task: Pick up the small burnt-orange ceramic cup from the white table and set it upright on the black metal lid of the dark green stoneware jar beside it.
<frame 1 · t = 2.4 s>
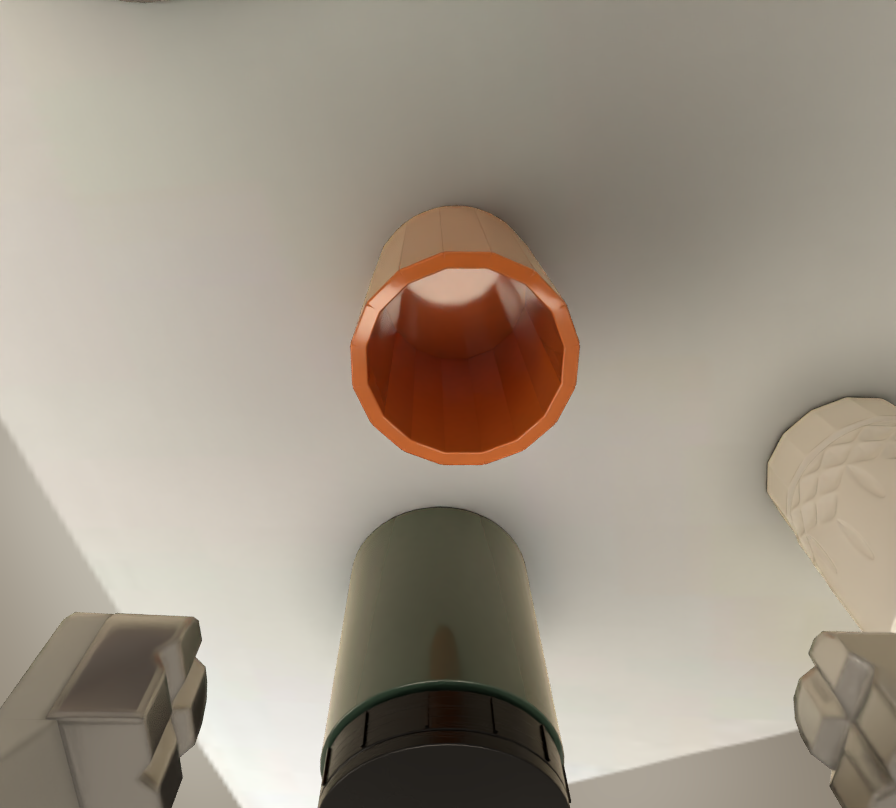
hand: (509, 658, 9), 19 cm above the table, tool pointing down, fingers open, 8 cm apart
white cup: (837, 461, 30), on the table
jar: (439, 580, 32), on the table
cup: (454, 288, 26), on the table
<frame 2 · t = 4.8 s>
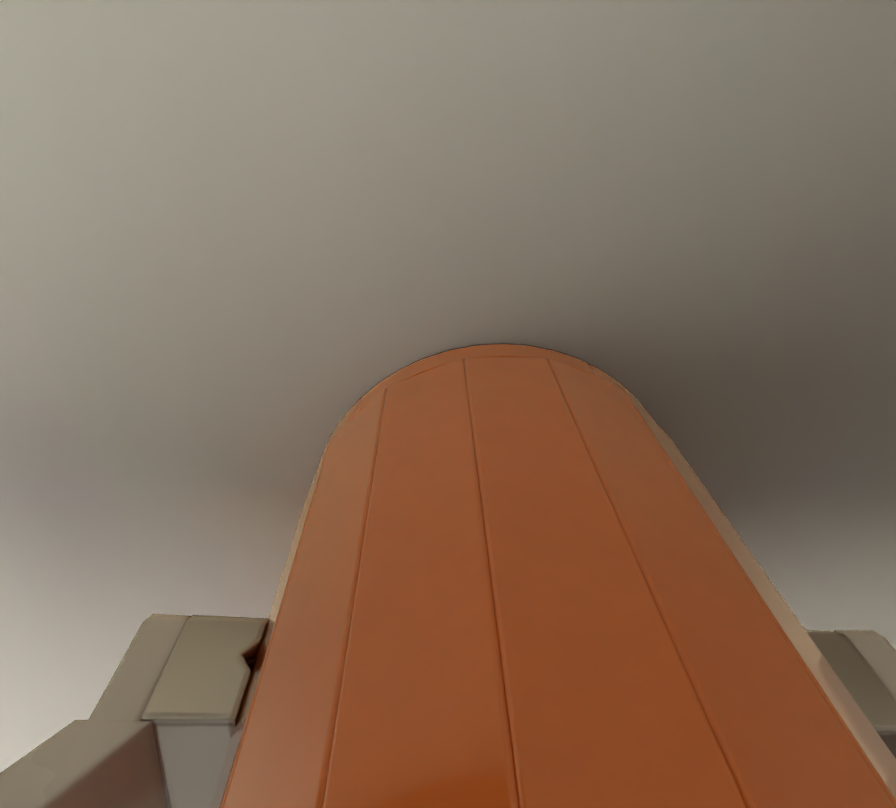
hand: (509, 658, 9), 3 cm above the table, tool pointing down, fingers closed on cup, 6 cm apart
cup: (493, 512, 12), on the table, touching gripper
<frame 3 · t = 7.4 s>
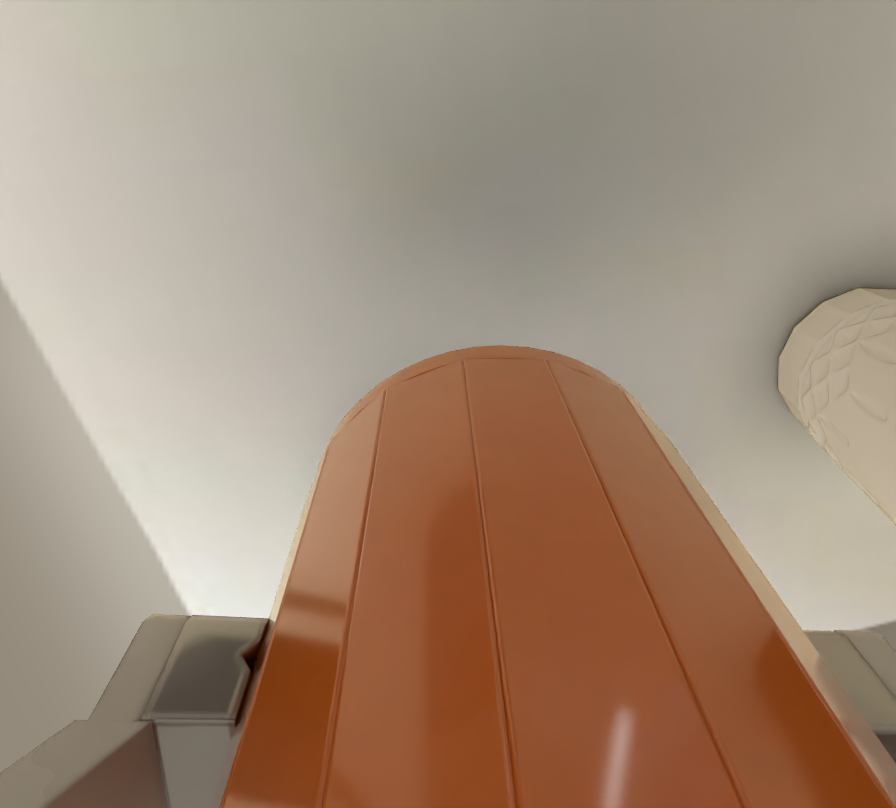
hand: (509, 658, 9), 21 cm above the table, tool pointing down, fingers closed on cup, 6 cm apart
white cup: (848, 357, 30), on the table
cup: (493, 513, 12), point 18 cm above the table, touching gripper
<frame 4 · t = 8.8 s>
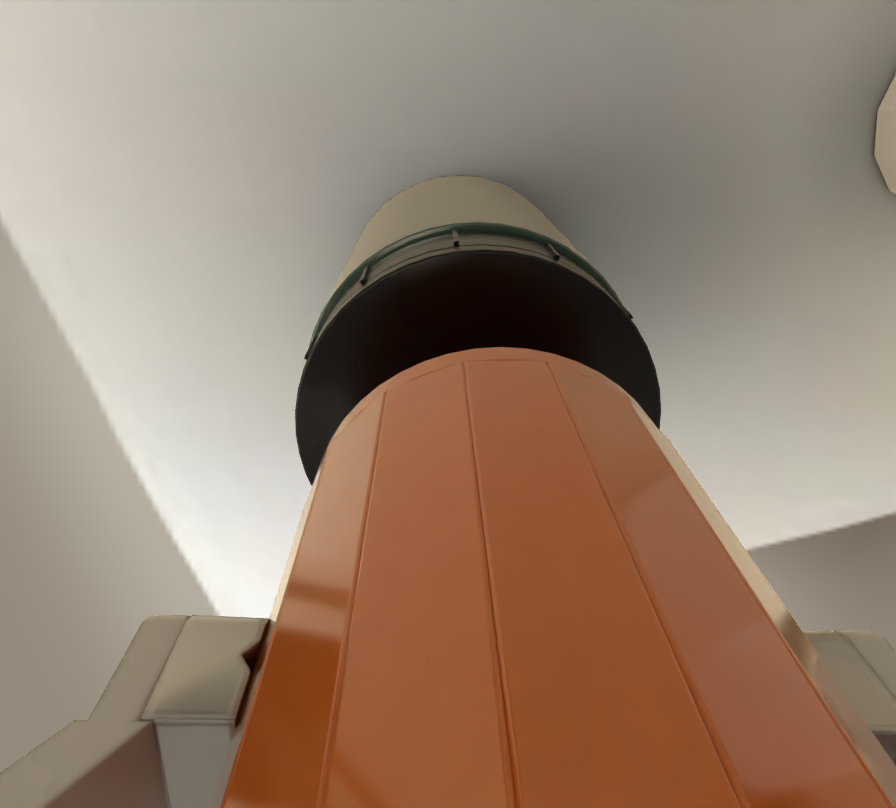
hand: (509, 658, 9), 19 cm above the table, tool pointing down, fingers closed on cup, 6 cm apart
jar lid: (477, 423, 15), point 12 cm above the table, screwed on, not yet turned
jar: (458, 289, 26), on the table
cup: (493, 515, 12), point 16 cm above the table, touching gripper
when the fingers open (15 cm above the table, at t = 10.2 s): cup stays where it is, resting on jar lid.
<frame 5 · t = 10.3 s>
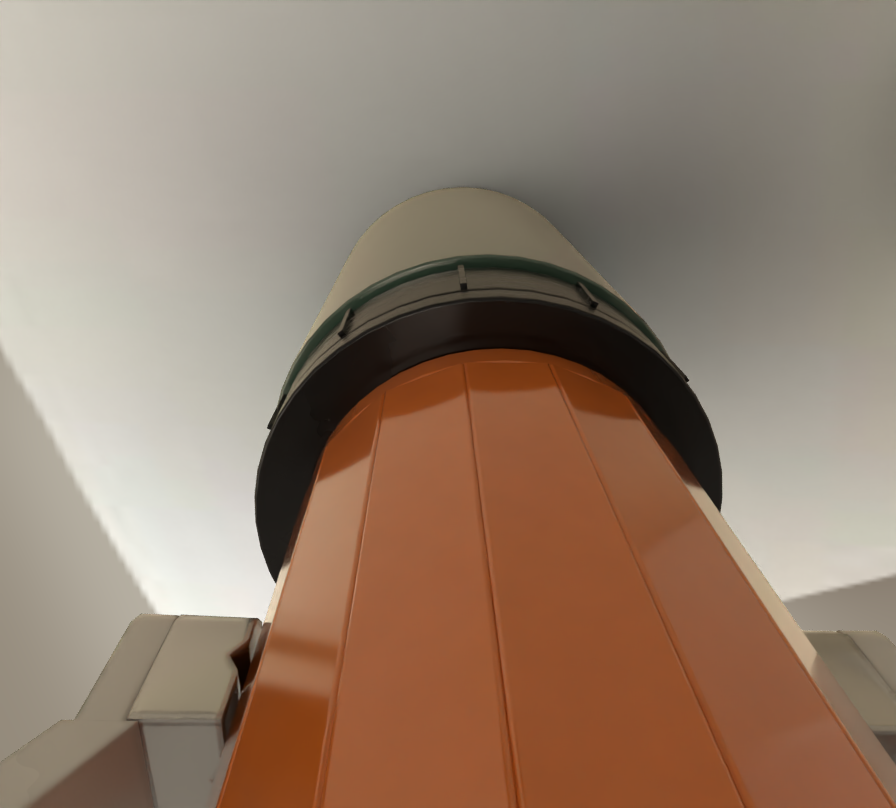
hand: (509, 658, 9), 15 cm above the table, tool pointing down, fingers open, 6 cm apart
jar lid: (487, 508, 12), point 12 cm above the table, screwed on, not yet turned, touching cup
jar: (461, 316, 23), on the table
cup: (492, 519, 12), point 12 cm above the table, touching jar lid
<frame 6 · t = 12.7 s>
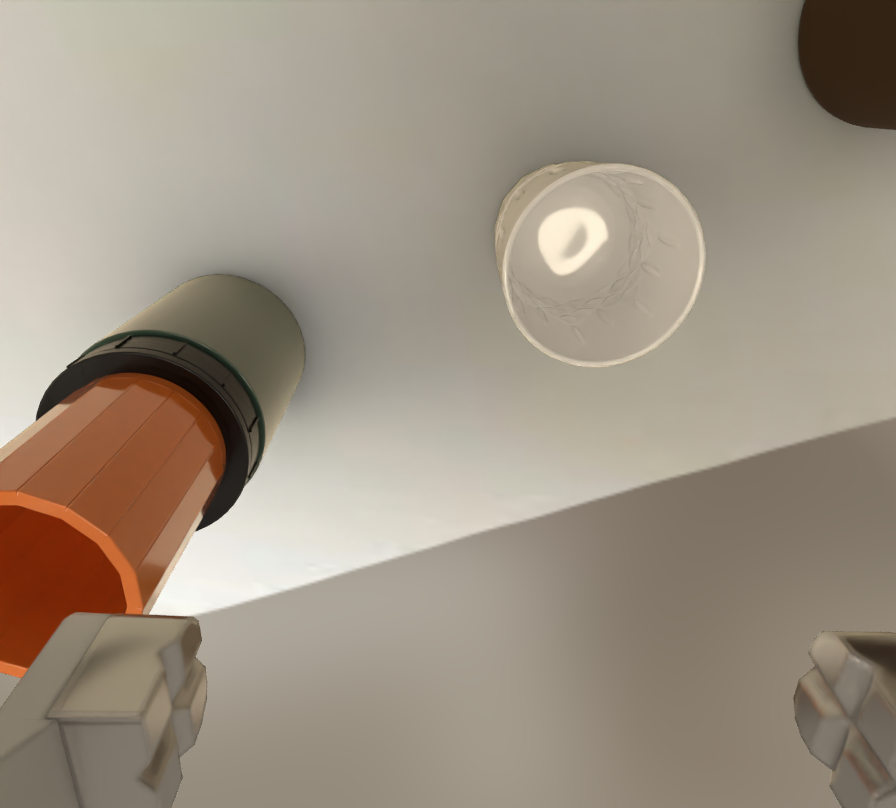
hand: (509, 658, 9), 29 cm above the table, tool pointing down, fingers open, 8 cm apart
jar lid: (148, 444, 26), point 12 cm above the table, screwed on, not yet turned, touching cup
white cup: (557, 230, 35), on the table
jar: (228, 349, 37), on the table
olive oil: (895, 20, 32), on the table
cup: (143, 448, 26), point 12 cm above the table, touching jar lid
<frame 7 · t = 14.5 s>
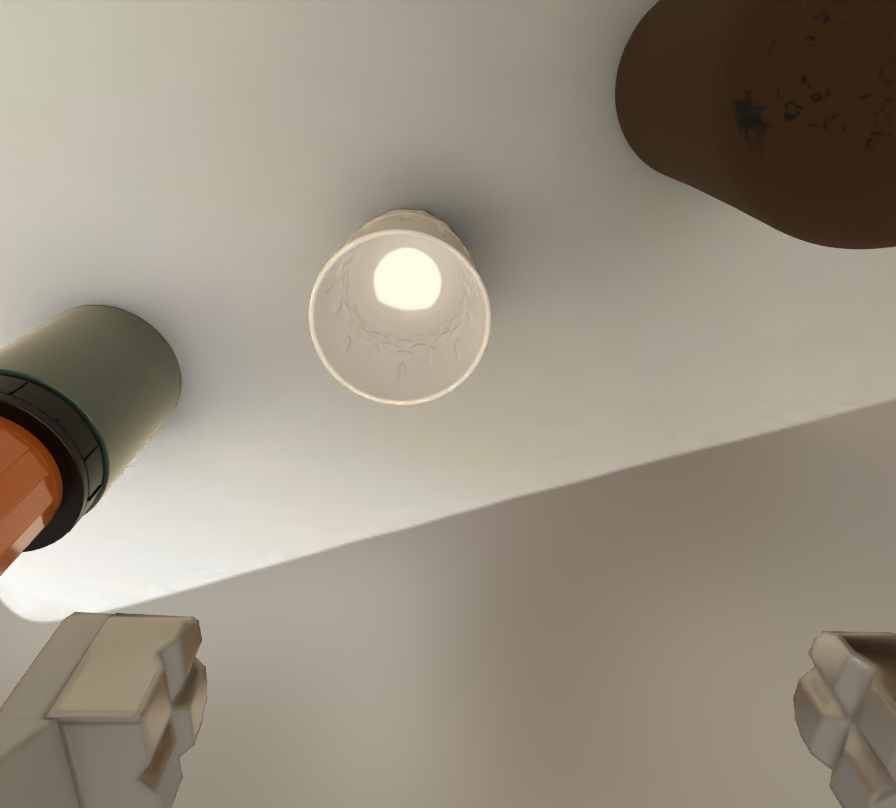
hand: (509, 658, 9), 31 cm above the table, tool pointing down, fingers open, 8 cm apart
white cup: (407, 268, 38), on the table
jar: (109, 372, 40), on the table
olive oil: (705, 83, 35), on the table
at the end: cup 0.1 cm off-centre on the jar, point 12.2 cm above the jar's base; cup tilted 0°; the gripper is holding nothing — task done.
